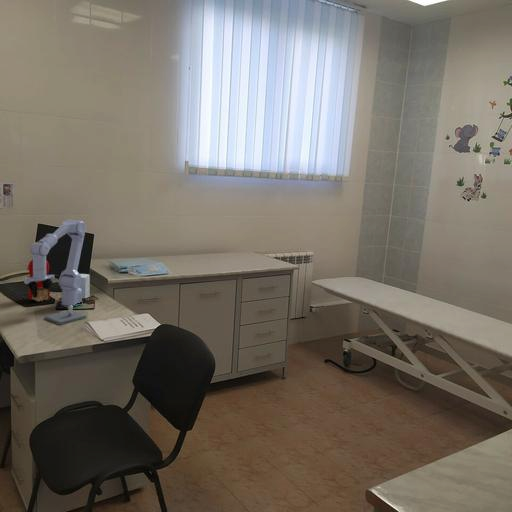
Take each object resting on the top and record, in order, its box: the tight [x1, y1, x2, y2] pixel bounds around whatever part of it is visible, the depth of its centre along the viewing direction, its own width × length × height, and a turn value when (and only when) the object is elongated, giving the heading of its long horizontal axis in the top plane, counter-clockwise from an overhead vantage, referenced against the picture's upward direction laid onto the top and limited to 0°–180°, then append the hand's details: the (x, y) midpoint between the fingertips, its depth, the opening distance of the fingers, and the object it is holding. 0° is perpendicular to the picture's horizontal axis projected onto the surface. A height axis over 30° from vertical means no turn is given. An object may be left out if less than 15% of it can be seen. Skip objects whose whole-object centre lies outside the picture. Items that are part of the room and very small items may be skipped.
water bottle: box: [26, 259, 51, 299], centre depth 260 cm, size 9×11×25 cm
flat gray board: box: [44, 310, 87, 325], centre depth 235 cm, size 14×12×1 cm
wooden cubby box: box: [32, 287, 49, 302], centre depth 234 cm, size 5×5×5 cm
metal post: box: [67, 305, 74, 316], centre depth 236 cm, size 2×2×6 cm
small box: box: [79, 273, 91, 298], centre depth 267 cm, size 8×6×13 cm
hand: (39, 296), depth 234 cm, fingers closed on wooden cubby box, 5 cm apart
